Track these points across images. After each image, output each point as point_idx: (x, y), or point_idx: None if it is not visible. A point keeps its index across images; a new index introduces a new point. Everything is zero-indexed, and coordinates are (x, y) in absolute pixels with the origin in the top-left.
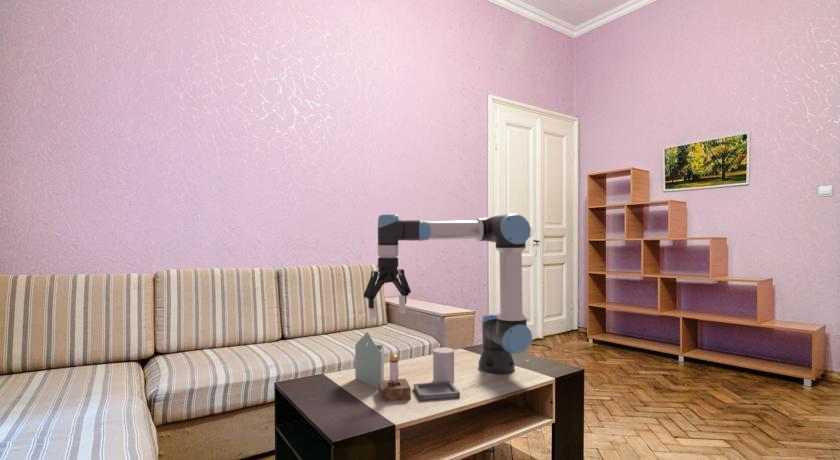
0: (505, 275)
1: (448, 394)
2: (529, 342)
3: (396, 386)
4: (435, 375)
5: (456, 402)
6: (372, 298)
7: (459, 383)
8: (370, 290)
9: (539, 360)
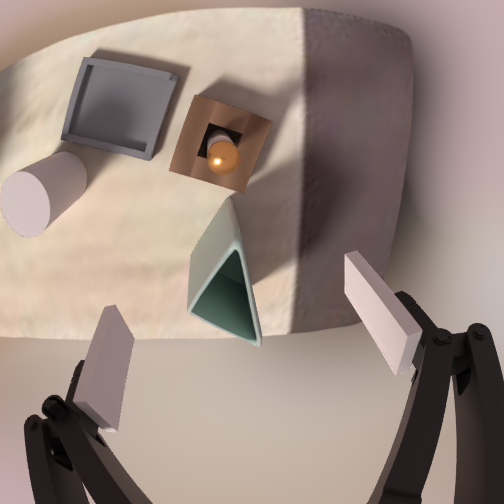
0: None
1: (110, 61)
2: None
3: (224, 123)
4: (78, 177)
5: (113, 34)
6: (442, 333)
7: (41, 147)
8: (496, 373)
9: None
